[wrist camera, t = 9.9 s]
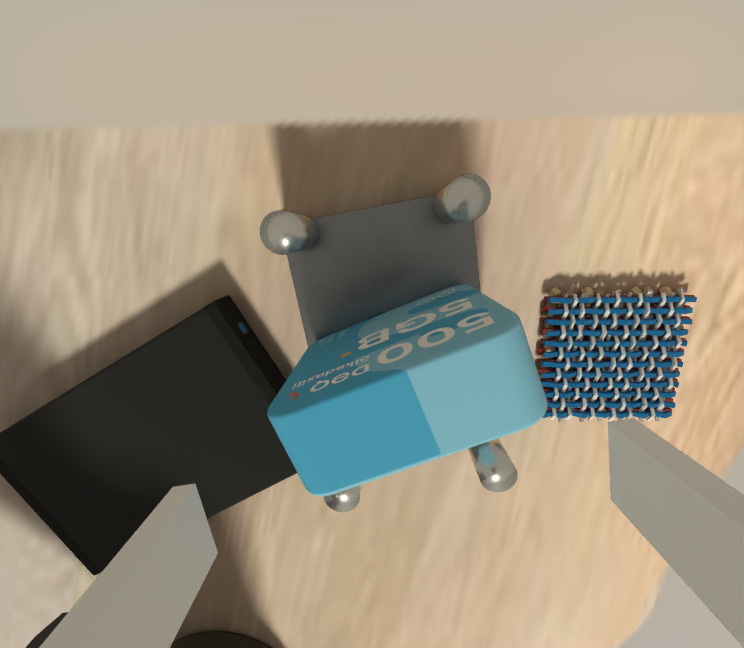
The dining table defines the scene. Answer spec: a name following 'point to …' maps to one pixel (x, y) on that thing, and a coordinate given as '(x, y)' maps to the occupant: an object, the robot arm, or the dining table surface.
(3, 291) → the dining table surface
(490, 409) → the data package
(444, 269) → the chassis
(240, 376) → the external hard drive
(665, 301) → the woven mat
